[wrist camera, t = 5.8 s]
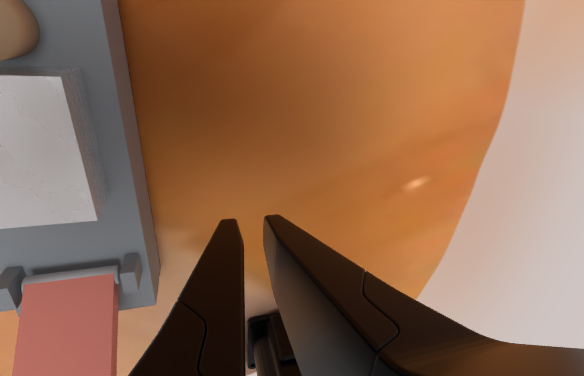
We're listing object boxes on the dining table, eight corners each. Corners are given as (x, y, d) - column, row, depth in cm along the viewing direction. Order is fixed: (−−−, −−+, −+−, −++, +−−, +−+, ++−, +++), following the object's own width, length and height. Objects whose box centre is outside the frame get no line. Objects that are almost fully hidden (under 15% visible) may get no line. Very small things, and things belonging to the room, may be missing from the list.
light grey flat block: (109, 194, 16) (97, 220, 14) (-3, 201, 15) (-33, 231, 13) (80, 67, 13) (60, 76, 11) (-60, 63, 12) (-112, 72, 10)
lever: (121, 266, 18) (118, 381, 16) (33, 277, 17) (18, 402, 15) (116, 263, 17) (112, 384, 15) (22, 274, 16) (5, 407, 14)
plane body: (160, 267, 23) (152, 331, 18) (46, 281, 21) (5, 357, 16) (116, -9, 15) (82, -21, 10) (-72, -26, 13) (-216, -50, 8)
